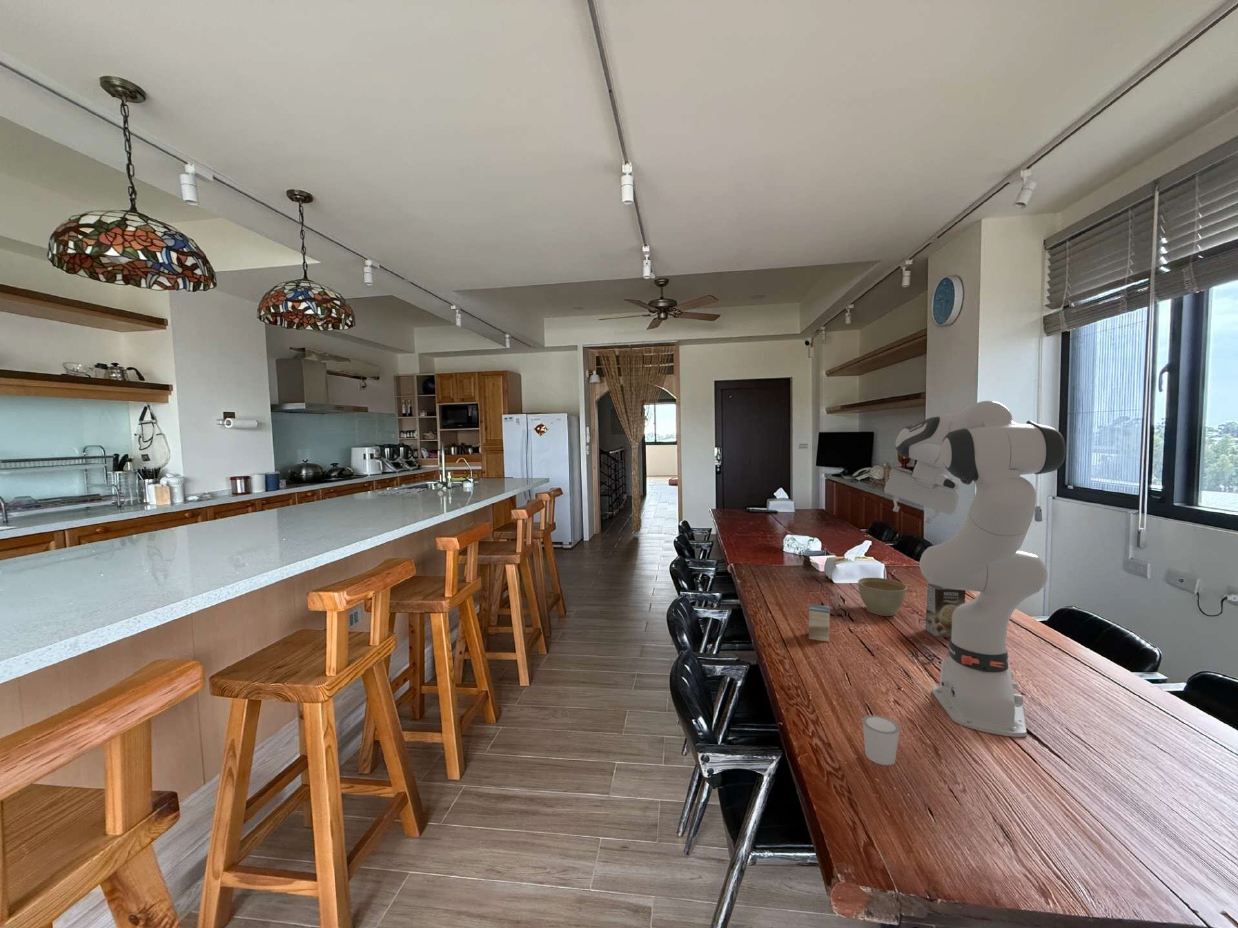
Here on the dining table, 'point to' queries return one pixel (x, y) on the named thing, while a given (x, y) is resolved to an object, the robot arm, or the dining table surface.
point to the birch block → (819, 622)
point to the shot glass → (880, 739)
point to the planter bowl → (882, 595)
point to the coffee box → (942, 609)
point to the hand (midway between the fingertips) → (911, 517)
